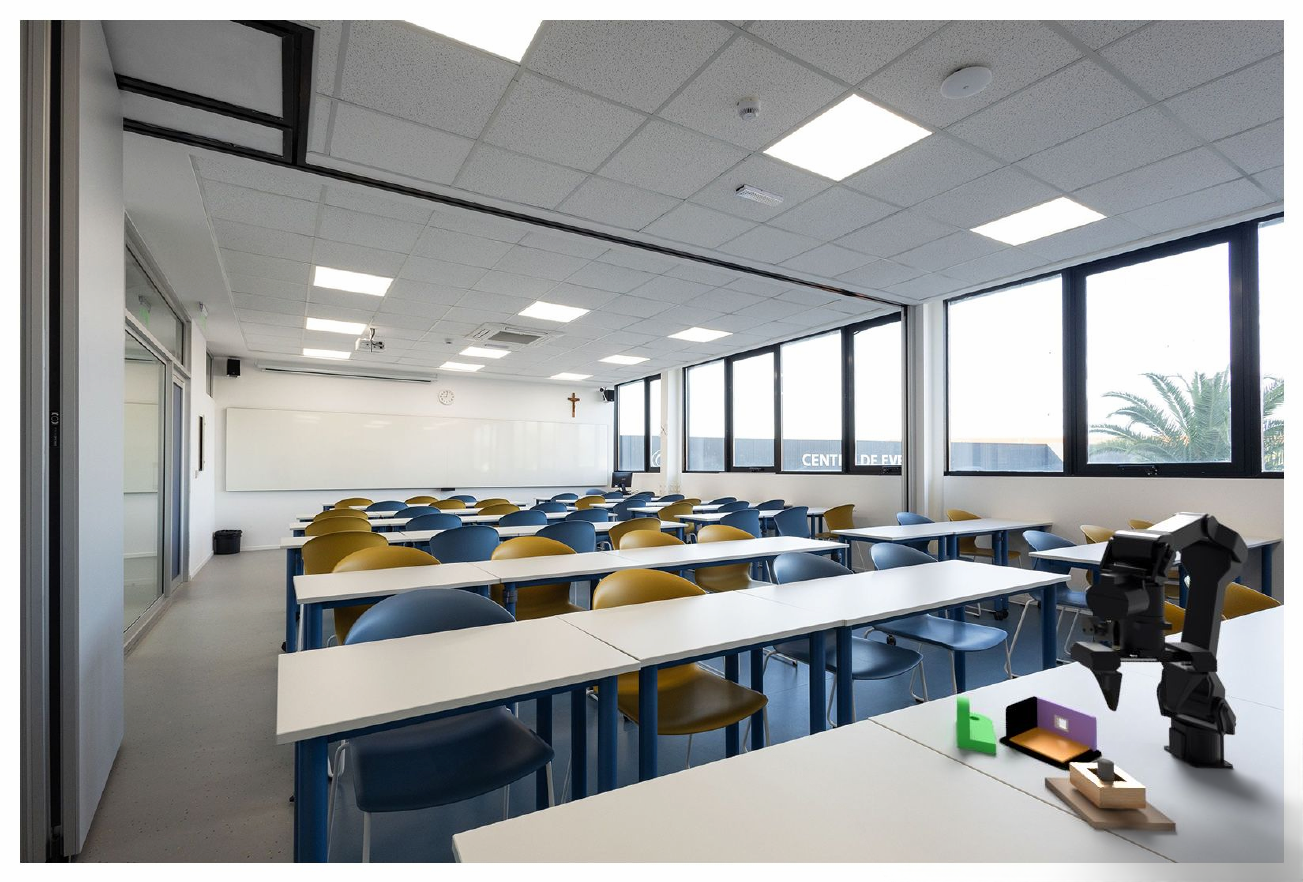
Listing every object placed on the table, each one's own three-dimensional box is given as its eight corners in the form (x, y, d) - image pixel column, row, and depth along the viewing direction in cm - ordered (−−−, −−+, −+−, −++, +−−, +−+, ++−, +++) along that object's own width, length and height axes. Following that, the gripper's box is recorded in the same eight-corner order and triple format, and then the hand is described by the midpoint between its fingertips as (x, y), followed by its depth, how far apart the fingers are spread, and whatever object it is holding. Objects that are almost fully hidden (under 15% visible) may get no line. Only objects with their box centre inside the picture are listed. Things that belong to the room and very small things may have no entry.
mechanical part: (996, 755, 103) (995, 709, 103) (957, 747, 106) (957, 703, 106) (991, 726, 114) (991, 684, 114) (956, 719, 117) (956, 679, 117)
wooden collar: (1112, 782, 91) (1112, 763, 91) (1145, 808, 84) (1145, 787, 84) (1069, 782, 91) (1069, 762, 91) (1099, 807, 84) (1099, 786, 84)
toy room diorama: (1032, 727, 113) (1032, 691, 113) (1104, 755, 103) (1104, 716, 103) (995, 742, 108) (995, 705, 108) (1068, 774, 97) (1067, 732, 97)
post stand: (1116, 787, 93) (1115, 743, 93) (1175, 834, 82) (1175, 783, 82) (1044, 786, 93) (1044, 742, 93) (1094, 832, 82) (1093, 782, 82)
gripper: (1159, 598, 101) (1161, 690, 101) (1048, 598, 102) (1049, 688, 102) (1220, 617, 90) (1221, 720, 90) (1094, 617, 91) (1095, 718, 90)
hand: (1142, 710), depth 93 cm, fingers open, 9 cm apart
